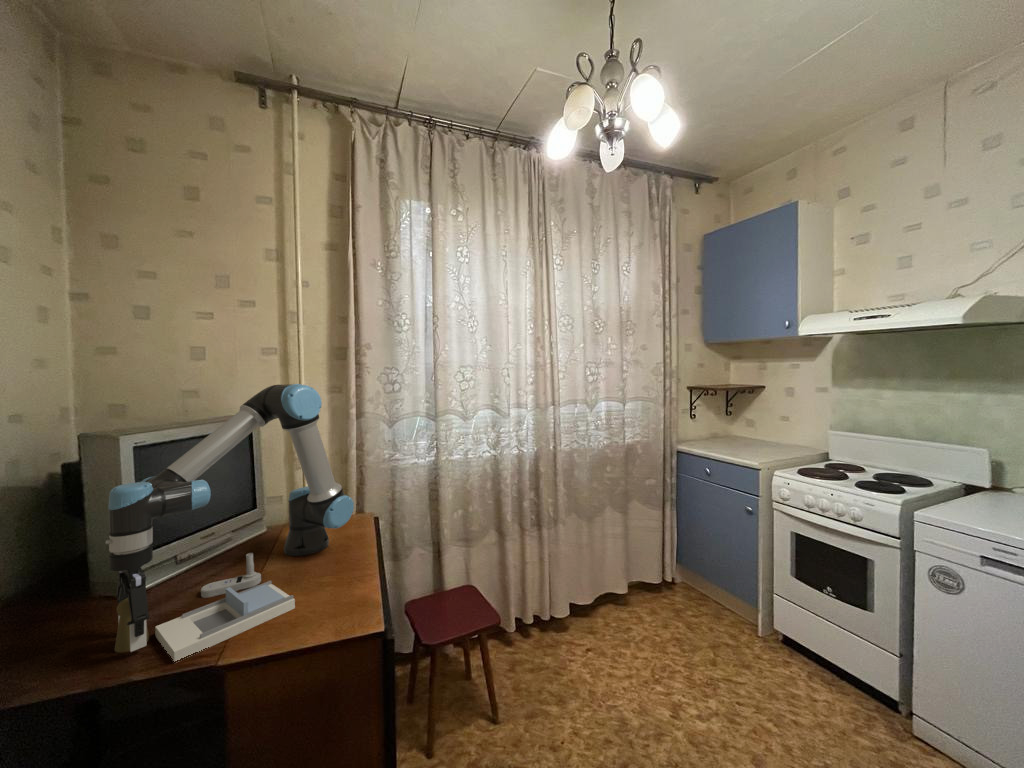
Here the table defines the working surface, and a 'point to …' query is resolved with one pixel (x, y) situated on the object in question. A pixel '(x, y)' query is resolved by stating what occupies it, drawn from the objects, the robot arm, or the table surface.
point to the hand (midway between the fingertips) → (132, 638)
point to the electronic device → (234, 581)
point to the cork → (124, 627)
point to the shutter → (252, 599)
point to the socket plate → (215, 624)
